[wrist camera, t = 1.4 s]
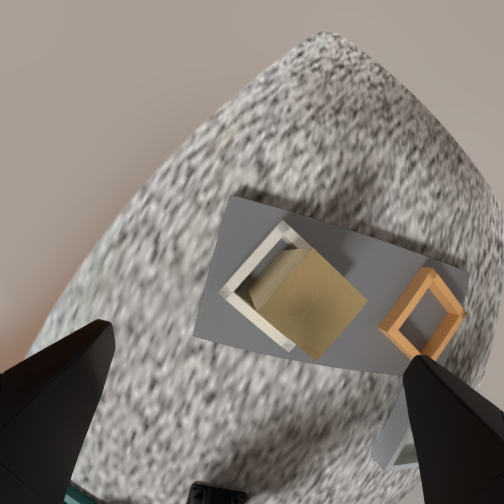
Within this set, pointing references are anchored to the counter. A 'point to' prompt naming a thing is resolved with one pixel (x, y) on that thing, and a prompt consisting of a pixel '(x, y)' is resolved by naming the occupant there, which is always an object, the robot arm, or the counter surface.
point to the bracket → (76, 497)
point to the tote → (396, 440)
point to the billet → (306, 299)
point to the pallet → (353, 270)
